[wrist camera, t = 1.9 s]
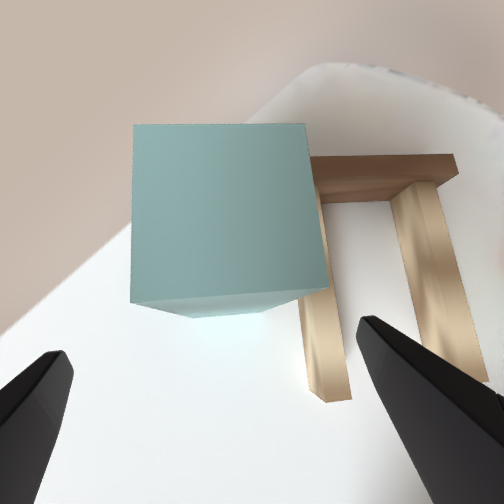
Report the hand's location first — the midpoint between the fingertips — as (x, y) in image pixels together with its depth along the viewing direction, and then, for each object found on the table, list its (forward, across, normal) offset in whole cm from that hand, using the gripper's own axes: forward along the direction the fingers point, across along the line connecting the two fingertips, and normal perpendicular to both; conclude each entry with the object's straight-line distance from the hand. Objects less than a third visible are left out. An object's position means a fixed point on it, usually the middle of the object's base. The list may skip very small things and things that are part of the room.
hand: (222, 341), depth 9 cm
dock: (+9, -10, +5) cm, 15 cm away
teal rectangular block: (+10, 0, +5) cm, 11 cm away
